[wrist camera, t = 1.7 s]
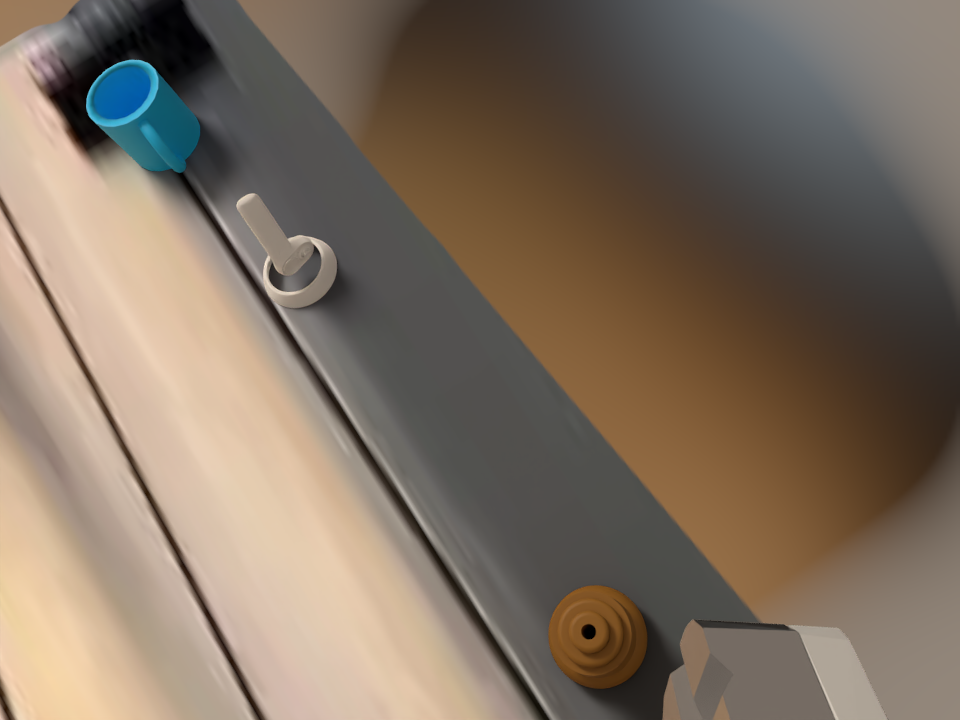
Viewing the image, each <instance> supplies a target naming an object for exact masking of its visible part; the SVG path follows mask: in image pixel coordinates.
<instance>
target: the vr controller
mask: <svg viewBox="0 0 960 720" xmlns="http://www.w3.org/2000/svg"><path fill="white" fill-rule="evenodd" d="M237 209H238V211H239V212H240V214H241V216H242V217H243V219H244V220H245V222H246V223H247V224H248V226H249V227H250V229H251V230H252V232H253V233H254V235H255V236H256V238H257V239H258V240H259V242H260V243H261V245H262V246H263V248H264V249H265V251H266V252H267V254H268V257H267V259H266V262H265V264H264V271H263V279H264V285H265V288H266V291H267V293H268V295H269V296H270V298H271V299H272V300H273V301H274V302H276V303H277V304H279V305H281V306H284V307H288V308H301V307H305V306H308V305H310V304H313V303H314V302H316V301H318V300H319V299H320V298H322V297H323V296H324V295H325V294H326V293H327V291H328V290H329V289H330V288H331V286H332V284H333V282H334V280H335V277H336V273H337V260H336V257H335V254H334V252H333V251H332V249H331V248H330V247H329V246H328V245H327V244H326V243H324V242H323V241H321V240H318V239H316V238H312V237H306V236H302V235H298V236H295V237H292V238H289V239H287V238H286V236H285V234H284V233H283V232H282V230H281V229H280V227H279V226H278V224H277V222H276V221H275V219H274V218H273V216H272V215H271V213H270V212H269V210H268V209H267V207H266V206H265V204H264V203H263V201H262V200H261V199H260V197H259V196H258V195H257V194H254V193H253V194H248V195H246V196H244V197H243V198H241V199H240V200H239V201H238V202H237ZM313 244H314V245H315V246H316V247H317V248H318V250H319V252H320V255H321V261H322V262H321V268H320V271H319V273H318V275H317V277H316V278H315V280H314V281H313V282H312V283H311V284H310V285H308V286H307V287H305V288H304V289H301V290H299V291H295V292H283V291H280V290H278V289H276V288H275V287H274V286H273V285H272V284H271V283H270V280H269V270H270V267H271V264H272V263H273V264H274V267H275V269H276V270H277V272H279V273H280V274H282V275H285V276H290V275H292V274H294V273H295V272H297V271H298V270H299V268H300V267H301V266H302V265H303V264H304V263H305V262H306V261H307V260H308V259H309V258H310V257H311V256H312V253H313V250H314V246H313Z"/></svg>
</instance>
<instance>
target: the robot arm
mask: <svg viewBox="0 0 960 720" xmlns="http://www.w3.org/2000/svg"><path fill="white" fill-rule="evenodd" d="M680 648H681V652H682V656H683V659H684V663H685V664H684V665H682V666H681V667H679V668H678V669H677V670H675V671H674V672H672V673H671V674H670V677H669V680H668V684H667V688H666V691H665V695H664V705H663V720H888V718H887V716H886V714H885V712H884V710H883V708H882V706H881V704H880V702H879V700H878V698H877V696H876V694H875V692H874V690H873V687H872V685H871V683H870V681H869V680H868V677H867V675H866V673H865V671H864V669H863V667H862V665H861V663H860V661H859V659H858V657H857V655H856V653H855V651H854V649H853V647H852V645H851V643H850V641H849V639H848V637H847V636H846V635H845V634H844V633H843V632H842V631H841V630H840V629H839V628H829V627H828V628H827V627H812V626H796V625H795V626H794V625H790V626H786V625H784V624H767V623H750V622H732V621H714V620H696V619H693V620H692V621H691V622H690V623H689V624H688V625H687V626H686V628H685V631H684V634H683V637H682V640H681V642H680Z"/></svg>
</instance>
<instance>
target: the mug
mask: <svg viewBox="0 0 960 720" xmlns="http://www.w3.org/2000/svg"><path fill="white" fill-rule="evenodd" d="M86 108H87V111H88V114H89V117H90V118H91V119H92V120H93V121H94V122H95V123H96V124H97V125H98V126H99V127H100V128H101V129H102V130H103V131H105V132H106V133H107V134H108V135H109V136H110V137H111V138H112V139H113V140H114V141H115V142H116V143H117V144H118V145H119V146H120V147H121V148H122V149H123V150H125V151H126V152H127V153H128V154H129V155H130V156H131V157H132V158H133V159H134V160H135V161H136V162H137V163H138V164H139V165H140V166H141V167H143V168H145V169H147V170H150V171H164V170H168V169H173V170H174V171H176V172H178V173H181V172H183V171H184V170H185V169H186V162H185V159H187V158H188V157H189V156H190V155H191V153H192V152H193V150H194V149H195V147H196V146H197V143H198V140H199V137H200V125H199V122H198V120H197V118H196V116H195V115H194V114H193V113H192V112H191V111H190V110H189V108H188V107H187V106H186V105H185V104H184V103H183V101H182V100H181V99H180V98H179V97H178V96H177V94H176V93H175V92H174V91H173V90H172V89H171V87H170V86H169V85H168V84H167V83H166V82H165V81H164V79H163V78H162V77H161V76H160V75H159V74H158V72H157V71H156V70H155V69H154V68H153V67H152V66H151V65H150V64H149V63H146V62H143V61H141V60H128V61H124V62H120V63H117V64H116V65H114V66H112V67H110V68H108V69H107V70H106V71H105V72H103V73H102V74H101V75H100V76H99V77H98V78H97V79H96V81H95V82H94V84H93V85H92V86H91V88H90V91H89V93H88V96H87V104H86Z"/></svg>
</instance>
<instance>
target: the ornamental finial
mask: <svg viewBox="0 0 960 720" xmlns="http://www.w3.org/2000/svg"><path fill="white" fill-rule="evenodd" d="M605 619H606V620H605ZM594 627H595V629H596V635H595V637H594V638H593V639H590V640H589V633H590V631H591V629H593V628H594ZM549 645H550V649H551V653H552V655H553V658H554V660H555V662H556V663H557V665H558V666H559V668H560V669H561V670H562V671H563V673H564V674H565V675H567V676H568V677H569V678H570V679H572V680H573V681H575V682H576V683H578V684H581V685H583V686H586V687H590V688H596V689H603V688H610V687H614V686H617V685H619V684H621V683H623V682H625V681H626V680H628V679H629V678H630V677H631V676H632V675H633V674H634V673H635V672H636V671H637V670H638V668H639V667H640V665H641V663H642V661H643V659H644V656H645V653H646V649H647V630H646V625H645V622H644V619H643V617H642V615H641V613H640V611H639V609H638V608H637V607H636V605H635V604H634V603H633V602H632V601H631V600H630V599H629V598H628V597H627V596H625V595H624V594H623V593H621V592H619V591H617V590H615V589H613V588H610V587H606V586H597V585H595V586H586V587H582V588H579V589H577V590H575V591H573V592H571V593H570V594H568V595H567V596H566V597H565V598H564V599H563V600H562V601H561V602H560V603H559V604H558V606H557V607H556V609H555V611H554V613H553V615H552V618H551V621H550V625H549ZM592 653H593V654H592ZM595 667H596V668H595Z"/></svg>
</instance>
